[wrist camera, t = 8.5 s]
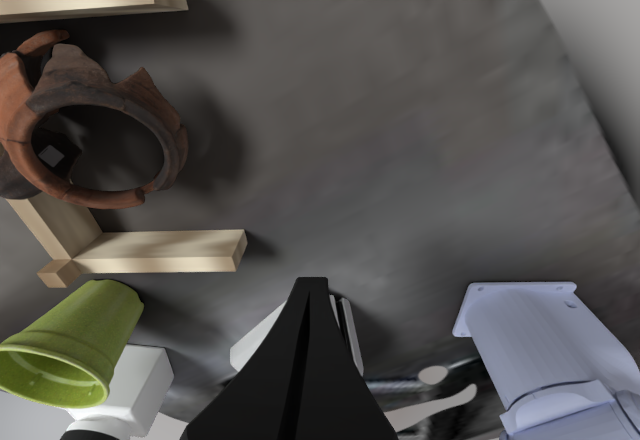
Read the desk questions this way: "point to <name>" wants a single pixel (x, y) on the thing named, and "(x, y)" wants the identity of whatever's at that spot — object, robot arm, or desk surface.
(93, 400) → the plant pot
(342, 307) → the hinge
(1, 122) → the pottery mug
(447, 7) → the desk surface
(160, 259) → the cradle
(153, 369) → the medicine bottle
